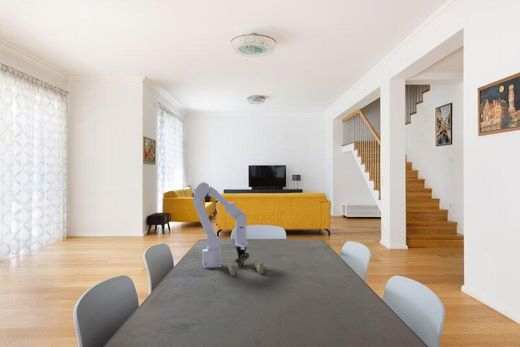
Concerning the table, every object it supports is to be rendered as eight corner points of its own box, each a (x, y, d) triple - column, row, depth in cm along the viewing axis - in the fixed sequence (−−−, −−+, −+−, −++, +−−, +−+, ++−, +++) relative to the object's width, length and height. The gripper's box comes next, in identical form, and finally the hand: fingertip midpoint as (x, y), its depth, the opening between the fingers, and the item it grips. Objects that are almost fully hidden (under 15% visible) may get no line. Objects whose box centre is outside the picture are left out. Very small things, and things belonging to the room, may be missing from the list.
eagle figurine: (250, 266, 159) (252, 258, 168) (242, 255, 158) (245, 247, 167) (238, 273, 160) (241, 265, 169) (230, 262, 160) (233, 254, 169)
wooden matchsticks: (230, 276, 146) (230, 266, 146) (227, 268, 159) (227, 258, 159) (263, 274, 149) (263, 263, 149) (257, 266, 163) (257, 256, 163)
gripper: (250, 237, 161) (250, 263, 161) (245, 232, 175) (246, 256, 175) (237, 237, 160) (237, 264, 159) (233, 232, 174) (233, 257, 174)
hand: (240, 260), depth 167 cm, fingers closed
